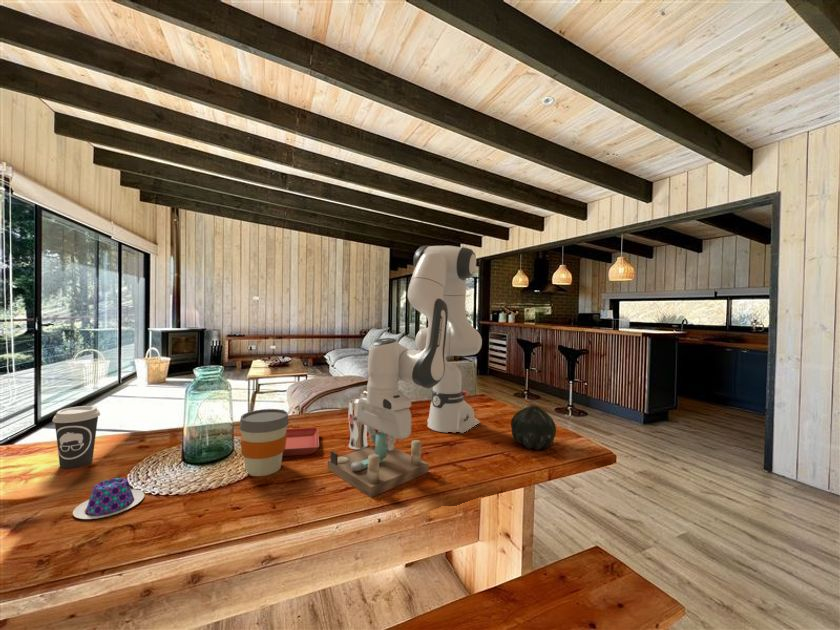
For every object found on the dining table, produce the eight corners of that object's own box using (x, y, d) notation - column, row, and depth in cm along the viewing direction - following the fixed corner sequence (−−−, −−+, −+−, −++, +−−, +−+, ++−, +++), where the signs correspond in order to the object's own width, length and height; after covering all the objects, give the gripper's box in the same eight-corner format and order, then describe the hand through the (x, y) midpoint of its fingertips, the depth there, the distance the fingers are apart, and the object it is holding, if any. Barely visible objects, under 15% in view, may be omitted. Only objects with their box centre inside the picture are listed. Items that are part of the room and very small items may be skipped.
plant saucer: (317, 435, 125) (318, 426, 125) (319, 456, 108) (319, 445, 108) (262, 439, 120) (262, 430, 120) (254, 462, 103) (254, 451, 103)
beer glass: (364, 451, 112) (365, 404, 112) (344, 449, 113) (345, 402, 113) (371, 443, 119) (373, 399, 119) (352, 441, 120) (353, 397, 120)
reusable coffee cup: (256, 484, 90) (257, 425, 89) (228, 470, 96) (229, 416, 96) (297, 466, 100) (298, 413, 100) (269, 455, 107) (270, 406, 107)
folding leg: (355, 472, 91) (356, 443, 91) (348, 468, 94) (349, 440, 93) (388, 460, 99) (389, 433, 99) (381, 456, 101) (382, 430, 101)
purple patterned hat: (114, 523, 73) (114, 498, 73) (55, 521, 73) (56, 496, 73) (157, 493, 85) (157, 471, 85) (107, 491, 85) (107, 469, 85)
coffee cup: (107, 459, 101) (108, 407, 100) (65, 474, 92) (65, 416, 91) (86, 454, 104) (87, 403, 104) (43, 467, 95) (43, 412, 95)
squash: (534, 419, 133) (518, 392, 127) (570, 433, 121) (554, 404, 115) (513, 449, 128) (495, 423, 122) (548, 466, 116) (530, 438, 110)
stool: (383, 450, 113) (383, 424, 113) (428, 472, 99) (429, 442, 99) (327, 469, 99) (328, 439, 99) (370, 497, 85) (371, 462, 85)
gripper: (352, 391, 104) (350, 437, 104) (398, 406, 89) (396, 460, 90) (369, 388, 108) (368, 432, 109) (415, 402, 94) (414, 453, 94)
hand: (381, 445), depth 99 cm, fingers open, 6 cm apart
